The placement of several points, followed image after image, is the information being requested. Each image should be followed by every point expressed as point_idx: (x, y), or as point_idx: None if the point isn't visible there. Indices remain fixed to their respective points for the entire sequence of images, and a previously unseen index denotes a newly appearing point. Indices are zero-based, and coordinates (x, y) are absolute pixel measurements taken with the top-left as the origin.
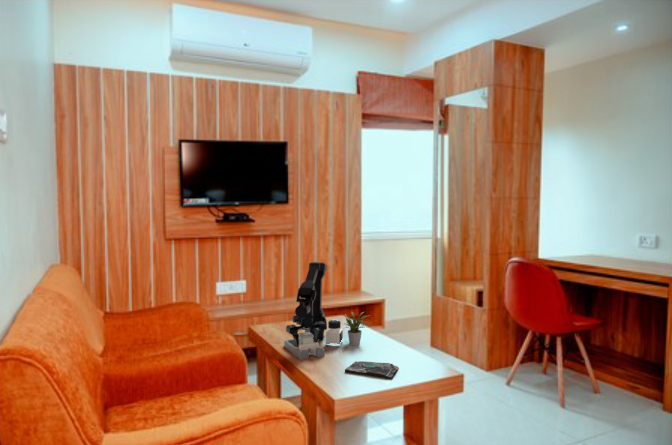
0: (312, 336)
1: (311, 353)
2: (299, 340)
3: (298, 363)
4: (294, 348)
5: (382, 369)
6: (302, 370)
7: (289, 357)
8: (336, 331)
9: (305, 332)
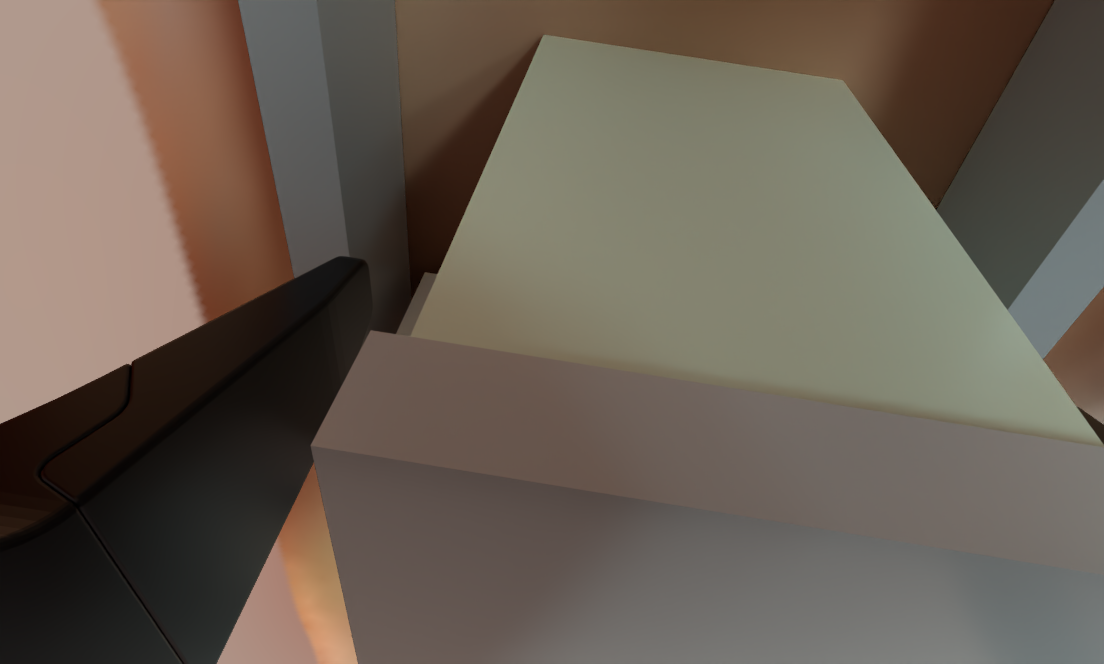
0: None
1: None
2: (473, 217)
3: (312, 485)
4: (287, 244)
5: None
6: (305, 605)
7: (216, 240)
8: None
9: (899, 563)
